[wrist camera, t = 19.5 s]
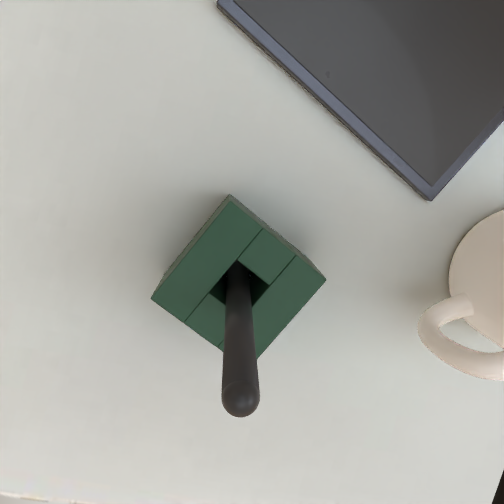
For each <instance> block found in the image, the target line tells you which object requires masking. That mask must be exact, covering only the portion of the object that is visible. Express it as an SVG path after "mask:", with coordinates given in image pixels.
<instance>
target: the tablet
mask: <svg viewBox="0 0 504 504" xmlns="http://www.w3.org/2000/svg"><path fill="white" fill-rule="evenodd" d="M217 7H218V8H219V9H220V10H221V11H222V12H223V13H224V14H225V15H226V16H227V17H228V18H229V19H231V20H232V21H233V22H234V23H235V24H236V25H237V26H238V27H239V28H240V29H241V30H242V31H244V32H245V33H246V34H247V35H248V36H249V37H250V38H251V39H252V40H253V41H254V42H255V43H256V44H258V45H259V46H260V47H261V48H262V49H263V50H264V51H265V52H266V53H267V54H268V55H269V56H271V57H272V58H273V59H274V60H275V61H276V62H277V63H278V64H279V65H280V66H281V67H282V68H284V69H285V70H286V71H287V72H288V73H289V74H290V75H291V76H292V77H293V78H294V79H295V80H297V81H298V82H299V83H300V84H301V85H302V86H303V87H304V88H305V89H306V90H307V91H308V92H310V93H311V94H312V95H313V96H314V97H315V98H316V99H317V100H318V101H319V102H320V103H321V104H323V105H324V106H325V107H326V108H327V109H328V110H329V111H330V112H331V113H332V114H333V115H334V116H336V117H337V118H338V119H339V120H340V121H341V122H342V123H343V124H344V125H345V126H346V127H347V128H349V129H350V130H351V131H352V132H353V133H354V134H355V135H356V136H357V137H358V138H359V139H360V140H361V141H363V142H364V143H365V144H366V145H367V146H368V147H369V148H370V149H371V150H372V151H373V152H374V153H376V154H377V155H378V156H379V157H380V158H381V159H382V160H383V161H384V162H385V163H386V164H387V165H389V166H390V167H391V168H392V169H393V170H394V171H395V172H396V173H397V174H398V175H399V176H400V177H402V178H403V179H404V180H405V181H406V182H407V183H408V184H409V185H410V186H411V187H412V188H413V189H415V190H416V191H417V192H418V193H419V194H420V195H421V196H422V197H423V198H424V199H425V200H427V201H432V200H433V199H434V198H435V197H436V196H437V195H438V193H439V192H440V191H441V190H442V189H443V188H444V187H445V186H446V184H447V183H448V182H449V181H450V180H451V179H452V178H453V177H454V176H455V174H456V173H457V172H458V171H459V170H460V169H461V168H462V167H463V165H464V164H465V163H466V162H467V161H468V160H469V159H470V158H471V157H472V155H473V154H474V153H475V152H476V151H477V150H478V149H479V148H480V146H481V145H482V144H483V143H484V142H485V141H486V140H487V139H488V138H489V136H490V135H491V134H492V133H493V132H494V131H495V130H496V129H497V127H498V126H499V125H500V124H501V123H502V122H503V121H504V0H218V1H217Z"/></svg>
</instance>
